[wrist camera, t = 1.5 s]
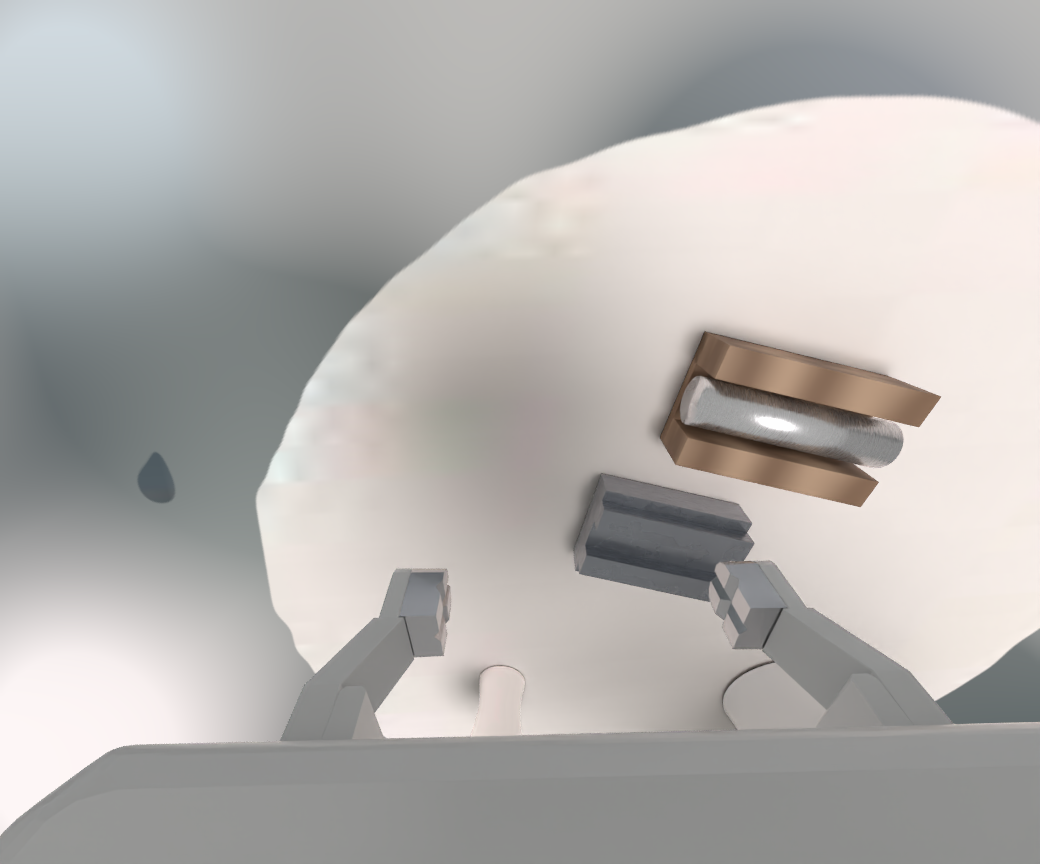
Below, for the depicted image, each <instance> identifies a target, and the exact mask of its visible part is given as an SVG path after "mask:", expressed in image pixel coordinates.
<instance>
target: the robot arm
mask: <svg viewBox="0 0 1040 864" xmlns="http://www.w3.org/2000/svg"><path fill="white" fill-rule="evenodd" d="M714 571H715V573H716V575H717V577H715V578H714V579H713V580H712V581H711V582H710V586H709V599H710V602H711V605H712V608H713V610H714V612H715V614H717V615H718V616H719V617H721V618H722V619H723V620H724V622H723V626H722V628H723V630H724V632H725V634H726V636H727V638H728V640H729V642H730V644H731V646H732V648H733V649H763V650H762V651H763V652H764V653H766V654H767V655H768V656H769V657H770V658H771V659H772V660H773V661H774V662H775V663H771V664H767V665H764V666H760V667H758V668H755V669H753V670H751V671H749V672H747V673H745V674H743V675H742V676H740V677H739V678H737V679H736V680H735V681H734V682H733V683H732V684H731V685H730V686H729V687H728V689H727V690H726V692H725V695H724V698H723V707H724V710H725V712H726V714H727V715H728V717H729V718H730V719H731V721H732V722H733V724H734V725H735V727H736V728H737V730H706V731H666V732H625V733H586V734H548V735H510V736H470V737H430V738H389V739H384V737H383V735H382V732H381V729H380V727H379V724H378V721H377V719H376V716H375V712H376V710H377V709H378V708H379V706H380V705H381V703H382V702H383V701H384V699H385V698H386V697H387V695H388V694H389V693H390V691H391V690H392V689H393V687H394V686H395V685H396V683H397V682H398V680H399V679H400V678H401V676H402V675H403V674H404V672H405V671H406V670H407V668H408V667H409V666H410V664H411V663H412V661H413V660H414V657H429V656H444V650H445V644H446V638H447V630H446V622H447V621H448V620H449V618H450V610H451V590H450V586H449V585H447V583H448V571H447V569H396V570H395V572H394V573H393V575H392V578H391V582H390V585H389V588H388V591H387V594H386V597H385V600H384V603H383V606H382V610H381V613H380V616H379V618H373V619H372V620H371V621H370V622H369V623H368V624H367V625H366V626H365V627H364V628H363V629H362V630H361V631H360V632H359V633H358V634H357V635H356V636H355V637H354V638H353V639H352V640H351V641H349V642H348V643H347V644H346V645H345V646H344V647H343V648H342V649H341V650H340V651H339V652H338V653H337V654H336V655H335V656H334V657H333V658H332V659H331V660H330V661H329V662H328V663H327V664H326V665H325V666H324V667H323V668H321V669H320V670H319V671H318V672H317V673H316V674H315V675H314V676H313V677H312V678H311V679H310V680H309V681H308V682H307V683H306V684H305V685H304V687H303V689H302V692H301V694H300V696H299V698H298V701H297V703H296V705H295V707H294V710H293V712H292V714H291V717H290V719H289V721H288V724H287V726H286V728H285V730H284V733H283V735H282V737H281V740H280V741H268V742H228V743H188V744H147V745H131V746H123V747H119V748H117V749H114V750H111V751H110V752H107V753H106V754H104V755H103V756H101V757H100V758H99V759H97V760H96V761H94V762H93V763H91V764H90V765H88V766H87V767H86V768H84V769H83V770H81V771H80V772H79V773H77V774H76V775H75V776H73V777H72V778H70V779H69V780H68V781H66V782H65V783H64V784H62V785H61V786H60V787H58V788H57V789H56V790H54V791H53V792H51V793H50V794H49V795H47V796H46V797H45V798H44V799H42V800H41V801H39V802H38V803H37V804H36V805H34V806H33V807H32V808H31V809H29V810H28V811H27V812H25V813H24V814H23V815H22V816H20V817H19V818H18V819H17V820H16V821H15V822H14V823H12V824H11V825H10V826H9V827H8V828H7V829H6V830H5V831H4V832H3V833H2V835H1V836H0V864H1040V722H1025V723H1024V722H1022V723H986V724H953V722H952V721H951V720H950V719H949V718H948V717H947V715H946V714H945V713H944V712H943V711H942V709H941V708H940V707H939V706H938V705H937V703H936V702H935V701H934V700H933V699H932V697H931V696H930V695H929V694H928V693H927V691H926V690H925V689H924V688H923V687H922V685H921V684H920V683H919V682H918V681H917V680H916V678H915V677H914V676H913V675H912V674H911V672H910V671H908V670H907V669H905V668H904V667H902V666H901V665H899V664H898V663H896V662H894V661H893V660H891V659H890V658H888V657H887V656H885V655H884V654H882V653H881V652H879V651H878V650H876V649H874V648H873V647H871V646H870V645H868V644H867V643H865V642H864V641H862V640H861V639H859V638H858V637H856V636H854V635H853V634H851V633H850V632H848V631H847V630H845V629H844V628H842V627H841V626H839V625H838V624H836V623H834V622H833V621H831V620H830V619H828V618H827V617H825V616H824V615H822V614H821V613H819V612H818V611H816V610H815V609H813V608H807V607H806V606H805V604H804V603H803V602H802V600H801V599H800V598H799V596H798V595H797V593H796V592H795V591H794V589H793V588H792V587H791V585H790V584H789V582H788V581H787V580H786V578H785V577H784V576H783V574H782V573H781V572H780V570H779V569H778V567H777V566H776V565H775V564H774V563H773V562H771V561H753V562H752V561H739V562H719V563H718V564H717V565H716V568H715V570H714Z"/></svg>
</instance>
